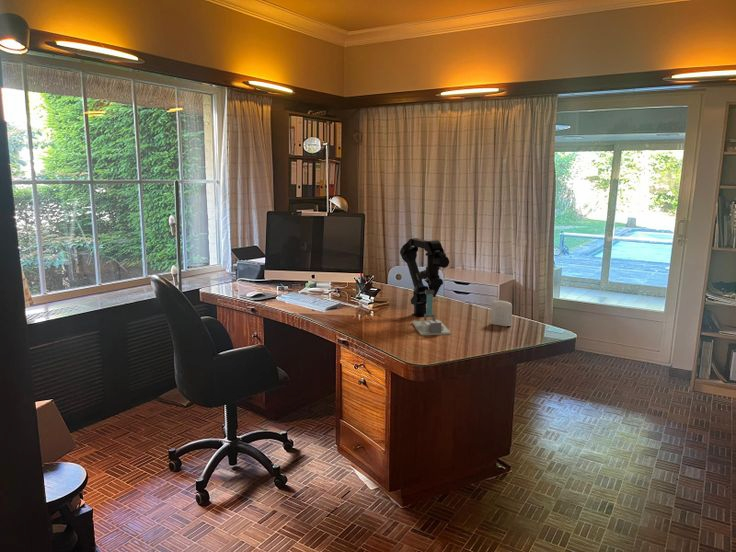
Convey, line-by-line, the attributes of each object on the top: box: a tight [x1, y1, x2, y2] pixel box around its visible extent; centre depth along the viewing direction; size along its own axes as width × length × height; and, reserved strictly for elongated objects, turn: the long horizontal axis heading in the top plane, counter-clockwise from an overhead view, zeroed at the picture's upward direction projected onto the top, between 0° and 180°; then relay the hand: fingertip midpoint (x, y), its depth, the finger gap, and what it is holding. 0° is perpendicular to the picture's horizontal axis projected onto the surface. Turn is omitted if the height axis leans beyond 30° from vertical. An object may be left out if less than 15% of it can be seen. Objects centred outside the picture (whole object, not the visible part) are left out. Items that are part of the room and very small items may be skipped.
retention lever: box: [425, 288, 434, 318], centre depth 260 cm, size 2×4×14 cm, turn 95°
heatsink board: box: [412, 313, 452, 336], centre depth 259 cm, size 22×14×6 cm, turn 6°
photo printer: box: [490, 300, 513, 327], centre depth 263 cm, size 10×4×12 cm, turn 56°
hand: (432, 295), depth 273 cm, fingers open, 6 cm apart
